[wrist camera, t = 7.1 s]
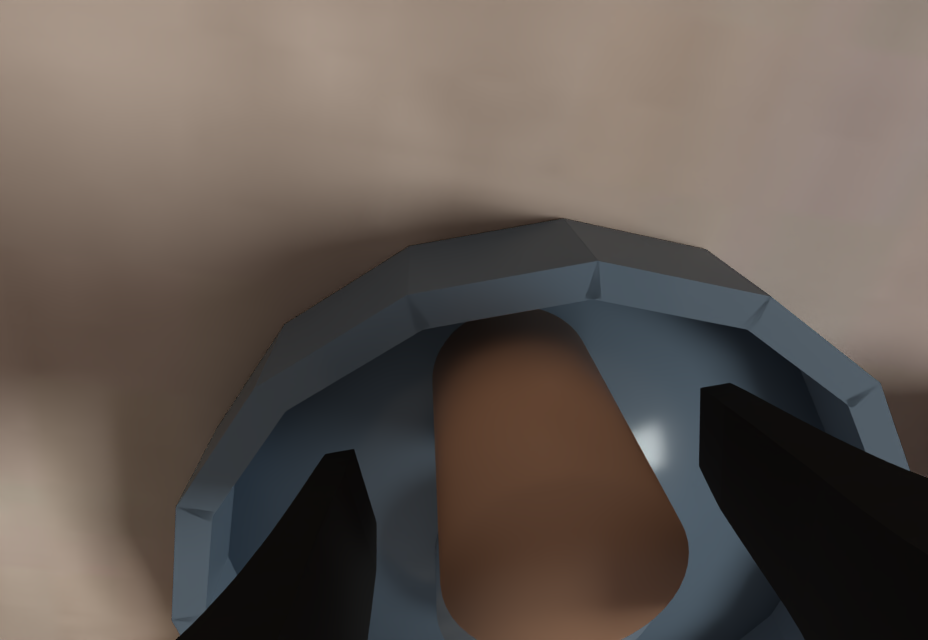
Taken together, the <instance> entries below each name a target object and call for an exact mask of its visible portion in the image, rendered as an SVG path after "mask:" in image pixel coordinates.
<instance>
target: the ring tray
mask: <svg viewBox="0 0 928 640" xmlns="http://www.w3.org/2000/svg"><path fill="white" fill-rule="evenodd" d="M536 309H540V310H544V311H546V312H549V313H551V314H554V315H555V316H557V317H559V318H561V319H562V320H564V321H565V322H566V323H568V324H569V325H570V326H571V327H572V328H573V329H574V330H575V331H576V332H577V334H578V335H579V336H580V338H581V339H582V341H583V343H584V345H585V346H586V348H587V350H588V352H589V354H590V356H591V357H592V359H593V361H594V363H595V365H596V367H597V368H598V370H599V372H600V374H601V376H602V378H603V379H604V381H605V383H606V385H607V387H608V389H609V391H610V392H611V394H612V396H613V398H614V400H615V402H616V403H617V405H618V407H619V409H620V411H621V413H622V414H623V416H624V418H625V420H626V422H627V424H628V425H629V427H630V429H631V431H632V433H633V435H634V436H635V438H636V440H637V442H638V444H639V446H640V448H641V449H642V451H643V453H644V455H645V457H646V459H647V460H648V462H649V464H650V466H651V468H652V470H653V471H654V473H655V475H656V477H657V479H658V481H659V482H660V484H661V486H662V488H663V490H664V492H665V493H666V495H667V497H668V499H669V501H670V503H671V505H672V506H673V508H674V510H675V512H676V514H677V516H678V517H679V519H680V521H681V523H682V525H683V527H684V529H685V532H686V536H687V539H688V546H689V559H688V566H687V570H686V573H685V577H684V579H683V581H682V583H681V586H680V588H679V589H678V591H677V593H676V594H675V596H674V597H673V599H672V600H671V601H670V602H669V604H668V605H667V606H666V607H665V608H664V610H662V611H661V612H660V613H659V614H658V615H657V616H656V617H655V618H654V619H653V620H651V621H650V622H649V623H648V624H646V625H645V626H644V627H642V628H641V629H639V630H637V631H636V632H634V633H633V634H631V635H629V636H627V637H625V638H623V639H621V640H805V639H804V637H803V635H802V634H801V632H800V630H799V628H798V627H797V625H796V623H795V622H794V620H793V619H792V617H791V615H790V614H789V612H788V611H787V609H786V607H785V606H784V604H783V603H782V601H781V600H780V598H779V597H778V595H777V594H776V592H775V591H774V589H773V588H772V586H771V585H770V583H769V582H768V580H767V579H766V577H765V576H764V575H763V573H762V572H761V570H760V569H759V567H758V566H757V564H756V563H755V561H754V560H753V558H752V557H751V555H750V554H749V552H748V551H747V549H746V548H745V546H744V545H743V543H742V542H741V540H740V539H739V537H738V536H737V534H736V533H735V531H734V530H733V528H732V527H731V525H730V524H729V522H728V521H727V519H726V518H725V516H724V514H723V513H722V511H721V510H720V508H719V506H718V504H717V502H716V500H715V498H714V496H713V494H712V492H711V490H710V488H709V486H708V484H707V482H706V480H705V478H704V476H703V474H702V472H701V469H700V467H699V431H700V388H702V387H708V386H714V385H719V384H725V383H732V384H734V385H736V386H738V387H740V388H742V389H744V390H746V391H748V392H750V393H752V394H754V395H755V396H757V397H759V398H761V399H763V400H765V401H767V402H768V403H770V404H772V405H774V406H776V407H778V408H780V409H781V410H783V411H785V412H787V413H789V414H791V415H793V416H795V417H796V418H798V419H800V420H802V421H804V422H806V423H808V424H810V425H812V426H814V427H816V428H818V429H819V430H821V431H823V432H825V433H827V434H829V435H831V436H833V437H835V438H838V439H840V440H842V441H844V442H846V443H848V444H850V445H852V446H854V447H856V448H859V449H861V450H863V451H865V452H867V453H869V454H872V455H874V456H876V457H878V458H880V459H883V460H885V461H887V462H889V463H892V464H894V465H896V466H899V467H901V468H904V469H906V470H908V471H910V469H909V466H908V463H907V460H906V457H905V454H904V451H903V448H902V445H901V443H900V440H899V437H898V434H897V431H896V428H895V425H894V422H893V419H892V416H891V413H890V410H889V407H888V404H887V401H886V398H885V395H884V392H883V389H882V387H881V383H880V382H878V381H877V380H876V379H874V378H873V377H872V376H871V375H869V374H868V373H867V372H866V371H864V370H863V369H862V368H861V367H859V366H858V365H857V364H856V363H854V362H853V361H852V360H850V359H849V358H848V357H847V356H845V355H844V354H843V353H842V352H840V351H839V350H838V349H837V348H835V347H834V346H833V345H831V344H830V343H829V342H828V341H826V340H825V339H824V338H823V337H821V336H820V335H819V334H818V333H816V332H815V331H814V330H813V329H811V328H810V327H809V326H807V325H806V324H805V323H804V322H802V321H801V320H800V319H799V318H797V317H796V316H795V315H794V314H792V313H791V312H790V311H788V310H787V309H786V308H785V307H783V306H782V305H781V304H780V303H778V302H777V301H776V300H775V299H773V298H772V297H771V296H770V295H768V294H767V293H766V292H764V291H763V290H761V289H760V288H759V287H757V286H756V285H755V284H753V283H752V282H750V281H749V280H748V279H746V278H745V277H744V276H742V275H741V274H739V273H738V272H737V271H735V270H734V269H733V268H731V267H730V266H728V265H727V264H726V263H724V262H723V261H722V260H720V259H719V258H717V257H716V256H715V255H713V254H712V253H711V252H709V251H708V250H706V249H702V248H697V247H693V246H688V245H684V244H679V243H674V242H670V241H665V240H661V239H656V238H651V237H647V236H642V235H638V234H633V233H628V232H624V231H619V230H615V229H610V228H605V227H601V226H596V225H592V224H587V223H582V222H578V221H573V220H568V219H564V218H563V219H558V220H552V221H547V222H541V223H536V224H530V225H524V226H519V227H513V228H508V229H502V230H496V231H491V232H485V233H480V234H474V235H468V236H463V237H457V238H452V239H446V240H440V241H435V242H429V243H424V244H418V245H413V246H409V247H407V248H405V249H404V250H402V251H401V252H399V253H397V254H396V255H394V256H393V257H391V258H389V259H388V260H386V261H385V262H383V263H381V264H380V265H378V266H377V267H375V268H374V269H372V270H370V271H369V272H367V273H366V274H364V275H362V276H361V277H359V278H358V279H356V280H354V281H353V282H351V283H350V284H348V285H346V286H345V287H343V288H342V289H340V290H338V291H337V292H335V293H334V294H332V295H331V296H329V297H327V298H326V299H324V300H323V301H321V302H319V303H318V304H316V305H315V306H313V307H311V308H310V309H308V310H307V311H305V312H303V313H302V314H300V315H299V316H297V317H296V318H294V319H292V320H291V321H289V322H288V323H286V324H284V326H283V327H282V329H281V331H280V332H279V334H278V335H277V337H276V338H275V340H274V341H273V343H272V344H271V346H270V347H269V349H268V350H267V352H266V354H265V355H264V357H263V358H262V360H261V361H260V363H259V364H258V366H257V367H256V369H255V370H254V372H253V374H252V375H251V377H250V378H249V380H248V381H247V383H246V384H245V386H244V387H243V389H242V390H241V392H240V394H239V395H238V397H237V398H236V400H235V401H234V403H233V404H232V406H231V407H230V409H229V410H228V412H227V414H226V415H225V417H224V418H223V420H222V421H221V423H220V424H219V426H218V427H217V429H216V431H215V433H214V435H213V437H212V439H211V440H210V442H209V444H208V446H207V448H206V450H205V452H204V454H203V456H202V458H201V460H200V462H199V464H198V465H197V467H196V469H195V471H194V473H193V475H192V477H191V479H190V481H189V483H188V485H187V487H186V489H185V490H184V492H183V494H182V496H181V498H180V500H179V502H178V504H177V506H176V519H175V546H174V572H173V599H172V622H173V623H174V625H175V627H176V629H177V630H178V632H179V634H180V635H181V634H182V633H183V632H184V631H185V630H186V629H188V628H189V627H190V626H191V625H192V624H193V623H194V622H195V621H196V620H197V619H198V618H199V617H200V616H201V615H202V614H203V613H204V611H205V610H206V609H207V608H208V607H209V606H210V605H211V604H212V603H213V602H214V601H215V600H216V598H217V597H218V596H219V595H220V594H221V593H222V592H223V591H224V590H225V589H226V588H227V586H228V585H229V584H230V583H231V582H232V581H233V580H234V578H235V577H236V576H237V575H238V574H239V572H240V571H241V570H242V569H243V567H244V566H245V565H246V564H247V562H248V561H249V560H250V559H251V557H252V556H253V555H254V553H255V552H256V551H257V550H258V548H259V547H260V546H261V545H262V543H263V542H264V541H265V539H266V538H267V537H268V535H269V534H270V533H271V531H272V530H273V529H274V527H275V526H276V524H277V523H278V522H279V520H280V519H281V517H282V516H283V514H284V513H285V512H286V510H287V509H288V507H289V506H290V505H291V503H292V502H293V500H294V499H295V497H296V496H297V494H298V493H299V491H300V490H301V488H302V487H303V485H304V484H305V482H306V481H307V479H308V478H309V476H310V475H311V473H312V472H313V470H314V469H315V467H316V466H317V465H318V463H319V462H320V460H321V459H322V457H323V456H324V455H325V454H328V453H333V452H339V451H345V450H350V449H354V450H355V454H356V457H357V460H358V463H359V467H360V470H361V473H362V476H363V480H364V483H365V486H366V489H367V493H368V496H369V499H370V502H371V506H372V509H373V512H374V515H375V519H376V522H377V568H376V578H375V586H374V594H373V602H372V610H371V618H370V626H369V634H368V640H477V639H475V638H474V637H472V636H471V635H469V634H468V633H467V632H466V631H465V630H463V629H462V628H461V627H460V626H459V625H458V624H457V623H456V621H455V620H454V619H453V618H452V616H451V615H450V613H449V611H448V609H447V608H446V605H445V603H444V600H443V597H442V592H441V586H440V565H439V540H438V514H437V489H436V463H435V438H434V412H433V387H432V375H433V369H434V364H435V361H436V358H437V356H438V354H439V351H440V349H441V348H442V346H443V345H444V343H445V342H446V340H447V339H448V338H449V337H450V336H451V334H452V333H453V332H454V331H455V330H457V329H458V328H459V327H460V326H461V325H462V324H464V323H465V322H468V321H474V320H479V319H485V318H491V317H496V316H502V315H507V314H513V313H519V312H524V311H530V310H536Z"/></svg>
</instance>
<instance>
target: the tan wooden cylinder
mask: <svg viewBox="0 0 928 640" xmlns="http://www.w3.org/2000/svg"><path fill="white" fill-rule="evenodd" d="M432 387H433V412H434V438H435V463H436V489H437V514H438V540H439V565H440V586H441V592H442V597H443V600H444V603H445V605H446V608H447V609H448V611H449V613H450V615H451V616H452V618H453V619H454V620H455V621H456V623H457V624H458V625H459V626H460V627H461V628H462V629H463V630H465V631H466V632H467V633H468V634H469V635H471V636H472V637H474V638H475V639H477V640H621V639H623V638H625V637H627V636H629V635H631V634H633V633H634V632H636V631H637V630H639V629H641V628H642V627H644V626H645V625H646V624H648V623H649V622H650V621H651V620H653V619H654V618H655V617H656V616H657V615H658V614H659V613H660V612H661V611H662V610H664V608H665V607H666V606H667V605H668V604H669V602H670V601H671V600H672V599H673V597H674V596H675V594H676V593H677V591H678V589H679V588H680V586H681V583H682V581H683V579H684V577H685V573H686V570H687V566H688V559H689V546H688V539H687V536H686V532H685V529H684V527H683V525H682V523H681V521H680V519H679V517H678V516H677V514H676V512H675V510H674V508H673V506H672V505H671V503H670V501H669V499H668V497H667V495H666V493H665V492H664V490H663V488H662V486H661V484H660V482H659V481H658V479H657V477H656V475H655V473H654V471H653V470H652V468H651V466H650V464H649V462H648V460H647V459H646V457H645V455H644V453H643V451H642V449H641V448H640V446H639V444H638V442H637V440H636V438H635V436H634V435H633V433H632V431H631V429H630V427H629V425H628V424H627V422H626V420H625V418H624V416H623V414H622V413H621V411H620V409H619V407H618V405H617V403H616V402H615V400H614V398H613V396H612V394H611V392H610V391H609V389H608V387H607V385H606V383H605V381H604V379H603V378H602V376H601V374H600V372H599V370H598V368H597V367H596V365H595V363H594V361H593V359H592V357H591V356H590V354H589V352H588V350H587V348H586V346H585V345H584V343H583V341H582V339H581V338H580V336H579V335H578V334H577V332H576V331H575V330H574V329H573V328H572V327H571V326H570V325H569V324H568V323H566V322H565V321H564V320H562V319H561V318H559V317H557V316H555V315H554V314H551V313H549V312H546V311H544V310H540V309H536V310H530V311H524V312H519V313H513V314H507V315H502V316H496V317H491V318H485V319H479V320H474V321H468V322H465V323H464V324H462V325H461V326H460V327H459V328H458V329H457V330H455V331H454V332H453V333H452V334H451V336H450V337H449V338H448V339H447V340H446V342H445V343H444V345H443V346H442V348H441V349H440V351H439V354H438V356H437V358H436V361H435V364H434V369H433V375H432Z"/></svg>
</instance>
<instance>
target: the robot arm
mask: <svg viewBox="0 0 928 640" xmlns="http://www.w3.org/2000/svg"><path fill="white" fill-rule="evenodd" d="M699 467H700V469H701V472H702V474H703V476H704V478H705V480H706V482H707V484H708V486H709V488H710V490H711V492H712V494H713V496H714V498H715V500H716V502H717V504H718V506H719V508H720V510H721V511H722V513H723V514H724V516H725V518H726V519H727V521H728V522H729V524H730V525H731V527H732V528H733V530H734V531H735V533H736V534H737V536H738V537H739V539H740V540H741V542H742V543H743V545H744V546H745V548H746V549H747V551H748V552H749V554H750V555H751V557H752V558H753V560H754V561H755V563H756V564H757V566H758V567H759V569H760V570H761V572H762V573H763V575H764V576H765V577H766V579H767V580H768V582H769V583H770V585H771V586H772V588H773V589H774V591H775V592H776V594H777V595H778V597H779V598H780V600H781V601H782V603H783V604H784V606H785V607H786V609H787V611H788V612H789V614H790V615H791V617H792V619H793V620H794V622H795V623H796V625H797V627H798V628H799V630H800V632H801V634H802V635H803V637H804V639H805V640H928V478H926V477H924V476H921V475H919V474H916V473H913V472H911V471H908V470H906V469H904V468H901V467H899V466H896V465H894V464H892V463H889V462H887V461H885V460H883V459H880V458H878V457H876V456H874V455H872V454H869V453H867V452H865V451H863V450H861V449H859V448H856V447H854V446H852V445H850V444H848V443H846V442H844V441H842V440H840V439H838V438H835V437H833V436H831V435H829V434H827V433H825V432H823V431H821V430H819V429H818V428H816V427H814V426H812V425H810V424H808V423H806V422H804V421H802V420H800V419H798V418H796V417H795V416H793V415H791V414H789V413H787V412H785V411H783V410H781V409H780V408H778V407H776V406H774V405H772V404H770V403H768V402H767V401H765V400H763V399H761V398H759V397H757V396H755V395H754V394H752V393H750V392H748V391H746V390H744V389H742V388H740V387H738V386H736V385H734V384H732V383H725V384H719V385H714V386H708V387H702V388H700V431H699ZM376 568H377V522H376V519H375V515H374V512H373V509H372V506H371V502H370V499H369V496H368V493H367V489H366V486H365V483H364V480H363V476H362V473H361V470H360V467H359V463H358V460H357V457H356V454H355V450H354V449H350V450H345V451H339V452H333V453H328V454H325V455H324V456H323V457H322V459H321V460H320V462H319V463H318V465H317V466H316V467H315V469H314V470H313V472H312V473H311V475H310V476H309V478H308V479H307V481H306V482H305V484H304V485H303V487H302V488H301V490H300V491H299V493H298V494H297V496H296V497H295V499H294V500H293V502H292V503H291V505H290V506H289V507H288V509H287V510H286V512H285V513H284V514H283V516H282V517H281V519H280V520H279V522H278V523H277V524H276V526H275V527H274V529H273V530H272V531H271V533H270V534H269V535H268V537H267V538H266V539H265V541H264V542H263V543H262V545H261V546H260V547H259V548H258V550H257V551H256V552H255V553H254V555H253V556H252V557H251V559H250V560H249V561H248V562H247V564H246V565H245V566H244V567H243V569H242V570H241V571H240V572H239V574H238V575H237V576H236V577H235V578H234V580H233V581H232V582H231V583H230V584H229V585H228V586H227V588H226V589H225V590H224V591H223V592H222V593H221V594H220V595H219V596H218V597H217V598H216V600H215V601H214V602H213V603H212V604H211V605H210V606H209V607H208V608H207V609H206V610H205V611H204V613H203V614H202V615H201V616H200V617H199V618H198V619H197V620H196V621H195V622H194V623H193V624H192V625H191V626H190V627H189V628H188V629H186V630H185V631H184V632H183V633H182V634H181V635H180V636H179V637H178V638H177V639H176V640H368V634H369V626H370V618H371V610H372V602H373V594H374V586H375V578H376Z"/></svg>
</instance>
